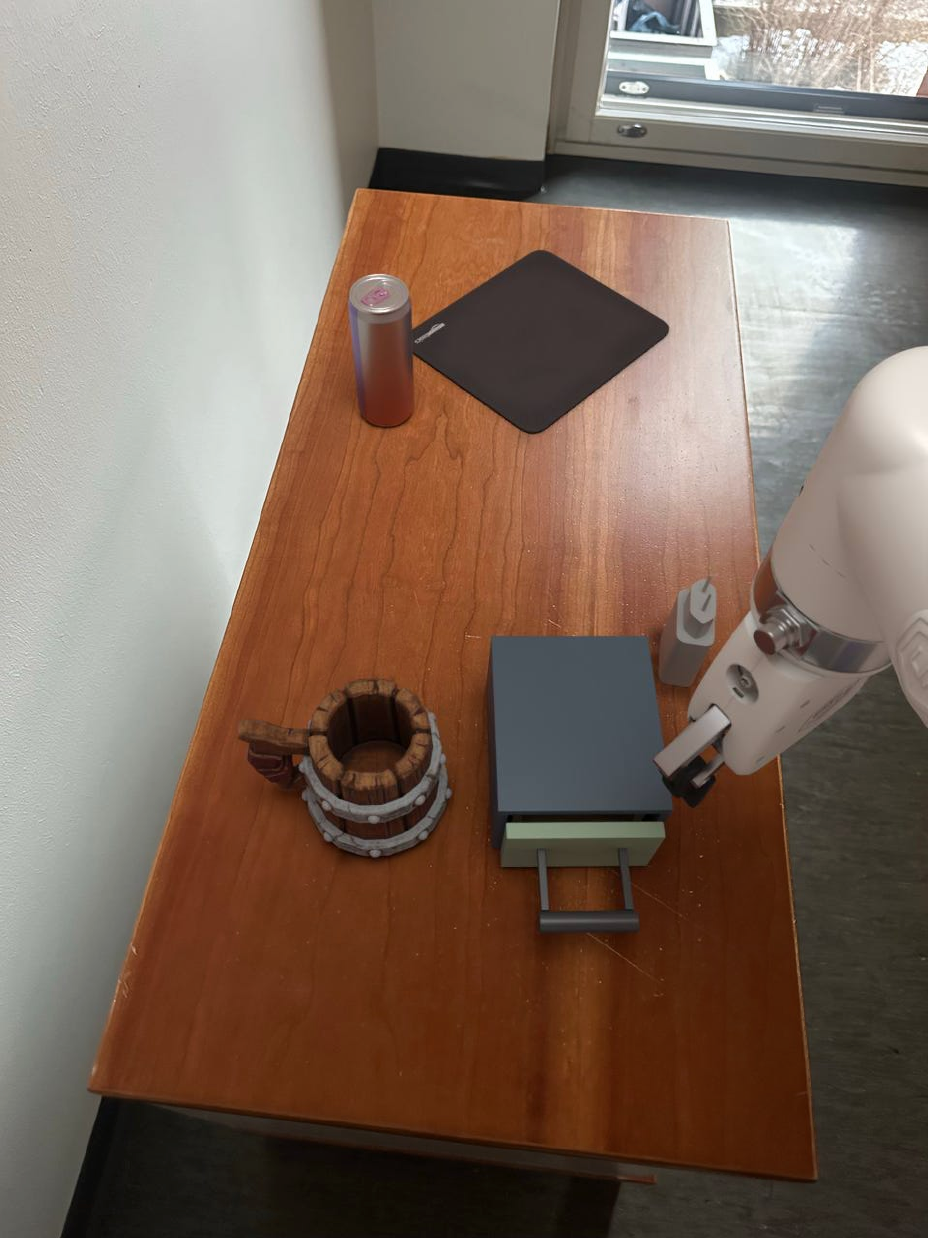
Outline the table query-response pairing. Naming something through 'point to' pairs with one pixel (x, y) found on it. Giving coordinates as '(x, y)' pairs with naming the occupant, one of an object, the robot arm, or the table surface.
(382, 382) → the beverage can
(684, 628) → the power adapter
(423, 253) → the table surface
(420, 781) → the mug
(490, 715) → the cabinet
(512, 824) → the drawer
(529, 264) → the mouse pad
